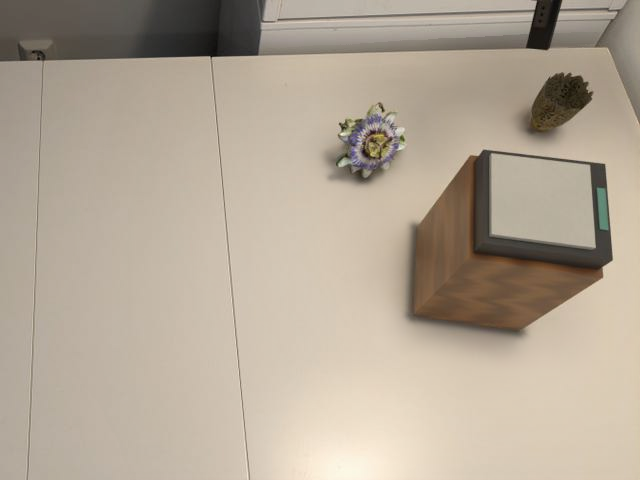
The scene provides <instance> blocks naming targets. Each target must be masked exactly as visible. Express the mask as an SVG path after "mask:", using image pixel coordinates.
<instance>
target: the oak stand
mask: <svg viewBox="0 0 640 480" xmlns="http://www.w3.org/2000/svg"><path fill="white" fill-rule="evenodd" d="M478 156H479V155H474V154H470V155H469V156H468V157H467V159H466V160H465V161H464V163H463V165H462V166H461V167H460V168H459V170H458V171H457V172H456V173H455V175H454V177H453V178H452V179H451V181H449V182H448V185H447V186H446V188H445V189H444V190H443V191H442V193H441V194H440V196H439V197H438V198H437V199H436V200H435V202H434V204H433V205H432V206H431V207H430V209H429V210H428V212H427V213H426V214H425V216H424V217H423V218H422V220H421V222H420V223H419V224H418V226H417V227H416V239H415V240H416V241H415V261H414V263H415V265H414V284H413V285H414V287H413V309H412V315H413V316H415V317H421V318H429V319H435V320H442V321H449V322H455V323H463V324H470V325H477V326H484V327H489V328H496V329H503V330H509V331H510V330H511V331H517V332H520V331H522V330H524V329H525V328H526V327H528V326H530V325H531V324H533V323H534V322H536V321H538V320H539V319H540V318H542V317H544V316H545V315H548V313H550V312H552V311H554V310H555V309H557V308H558V307H559V306H562V305H563V304H565V303H566V302H567V301H569V300H571V299H572V298H574V297H575V296H577V295H579V294H580V293H582V292H583V291H584V290H586V289H588V288H589V287H591V286H593V285H594V284H596V283H597V282H599V281H601V280H602V279H603V278H604V267H602V268H601V269H599V270H598V269H590V268H583V267H576V266H568V265H561V264H554V263H546V262H539V261H531V260H524V259H517V258H509V257H502V256H494V255H487V254H480V253H474V161H475V160H476V158H477V157H478Z"/></svg>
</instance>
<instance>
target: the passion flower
mask: <svg viewBox="0 0 640 480" xmlns="http://www.w3.org/2000/svg"><path fill="white" fill-rule="evenodd" d="M377 105H378V107H377ZM378 108H379V109H381V111H380V112H381V113H382V114H383V113H385V112H386V108H385V106H384V105H383V102H381V101H380V102H379V101H378V102H376V104H372V105H371V106H370V108H369V109H368V111H367V112H366V115H365V117H363V118H356V119H353V118H351V117H348V118H345V119H344V122H343V123H342V122H340V121H339V122H338V126H339V127H340V129H341V131H340V132H339V133H337V138H338V139H339V140H340V141H342V142H343V143H345V144H346V145H348V149H347V152H346V153H344V154H341V155H340V156H339V157H337V158H336V160H335V163H334V166H335V167H337V168H343V167H345V166H348V165H349V172H350V174H351V175H353V174H355V173H356V172H357V171H360V174H361V177H362V178H363V179H366V178H368V177H369V176H370V175H371V174H372V172H373V171H374V169H378V167H379V169H381V170H385V171H387V170H389V167H390V164H391V163H392V162H391V161H390V159H391V160H393V161H395V158H394V155H395V153H396V152H400V151H403V150H404V149H406V148H407V143H406V142H405V141H406V139H405V136H404V134H405V132H406V128H404V127H403V126H400V125H395V122H394V121H395V119H396V117H397V115H398V113H399V111H398V110H396V109H394V110H391V111H389V112H388V113H386V114H385V116H384V117H383V116H382V115H379V114H380V113H379V112H378ZM350 123H351V124H353V123H355V124H353V125H351V126H350Z"/></svg>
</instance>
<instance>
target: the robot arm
mask: <svg viewBox="0 0 640 480" xmlns="http://www.w3.org/2000/svg"><path fill="white" fill-rule="evenodd" d="M532 1H535V7H534V11H533V16H532V20H531V24H530V29H529V34H528V37H527V42H526V45H525V49H529V50H539V51H548V50H549V49H550V48H551V46H552V42H553V38H554V34H555V30H556V27H557V24H558V23H557V22H558V19H559V15H560V11H561V8H562V5H563V0H532Z"/></svg>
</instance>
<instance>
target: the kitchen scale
mask: <svg viewBox="0 0 640 480" xmlns="http://www.w3.org/2000/svg"><path fill="white" fill-rule="evenodd" d="M477 156H478V157H477V158H476V160H475V161H474V253H480V254H487V255H494V256H502V257H509V258H517V259H524V260H531V261H539V262H546V263H554V264H561V265H568V266H576V267H583V268H590V269H598V270H599V269H601V268H602V267H603V268H604V267H605V266H607V265H608V264H610V263H611V262H613V261H614V256H613V255H614V254H613V244H612V242H613V241H612V231H611V219H610V205H609V192H608V179H607V167H606V166H607V165H606V163H603V162H602V163H601V162H594V161H585V160H577V159H567V158H559V157H551V156H550V157H549V156H543V155H534V154H528V153H527V154H525V153H518V152H517V153H516V152H508V151H500V150H492V149H484V148H483V149H482V150H481V152H480V153H479V154H478V155H477Z"/></svg>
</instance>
